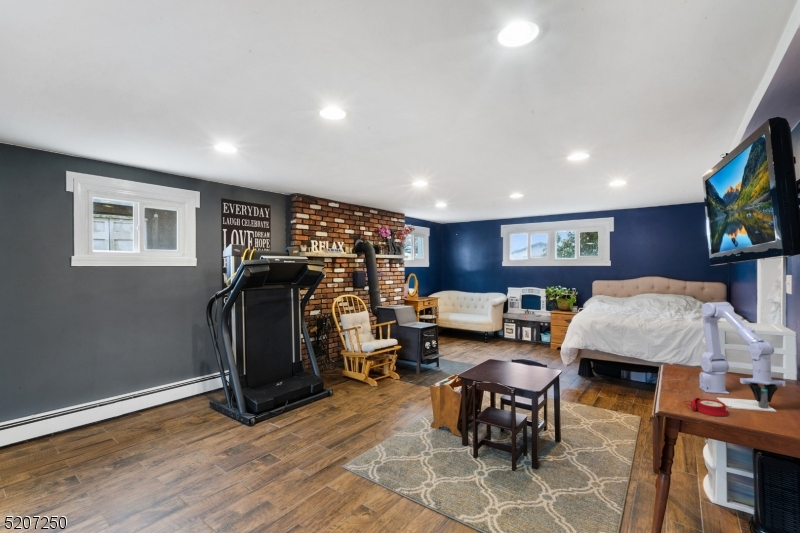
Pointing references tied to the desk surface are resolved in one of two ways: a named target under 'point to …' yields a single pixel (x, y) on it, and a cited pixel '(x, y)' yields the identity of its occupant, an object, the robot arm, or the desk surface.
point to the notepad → (744, 404)
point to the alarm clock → (709, 407)
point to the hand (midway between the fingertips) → (763, 401)
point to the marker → (763, 398)
